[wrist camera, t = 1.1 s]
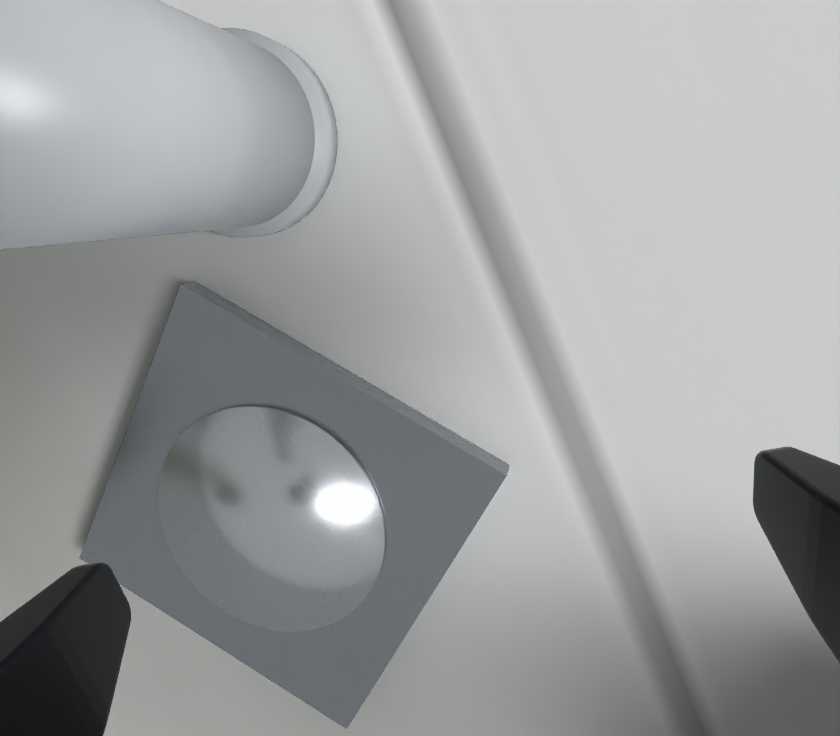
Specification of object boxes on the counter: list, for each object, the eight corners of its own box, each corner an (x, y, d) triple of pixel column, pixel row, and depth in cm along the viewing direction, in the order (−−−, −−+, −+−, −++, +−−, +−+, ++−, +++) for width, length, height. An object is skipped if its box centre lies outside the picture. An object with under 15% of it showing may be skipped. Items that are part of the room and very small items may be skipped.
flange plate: (509, 465, 21) (505, 478, 20) (353, 712, 25) (344, 733, 24) (194, 281, 22) (177, 285, 21) (94, 547, 26) (75, 560, 25)
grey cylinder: (368, 91, 19) (47, -62, 8) (292, 268, 21) (-54, 354, 10) (201, 1, 19) (-332, -268, 8) (142, 182, 21) (-355, 168, 10)
